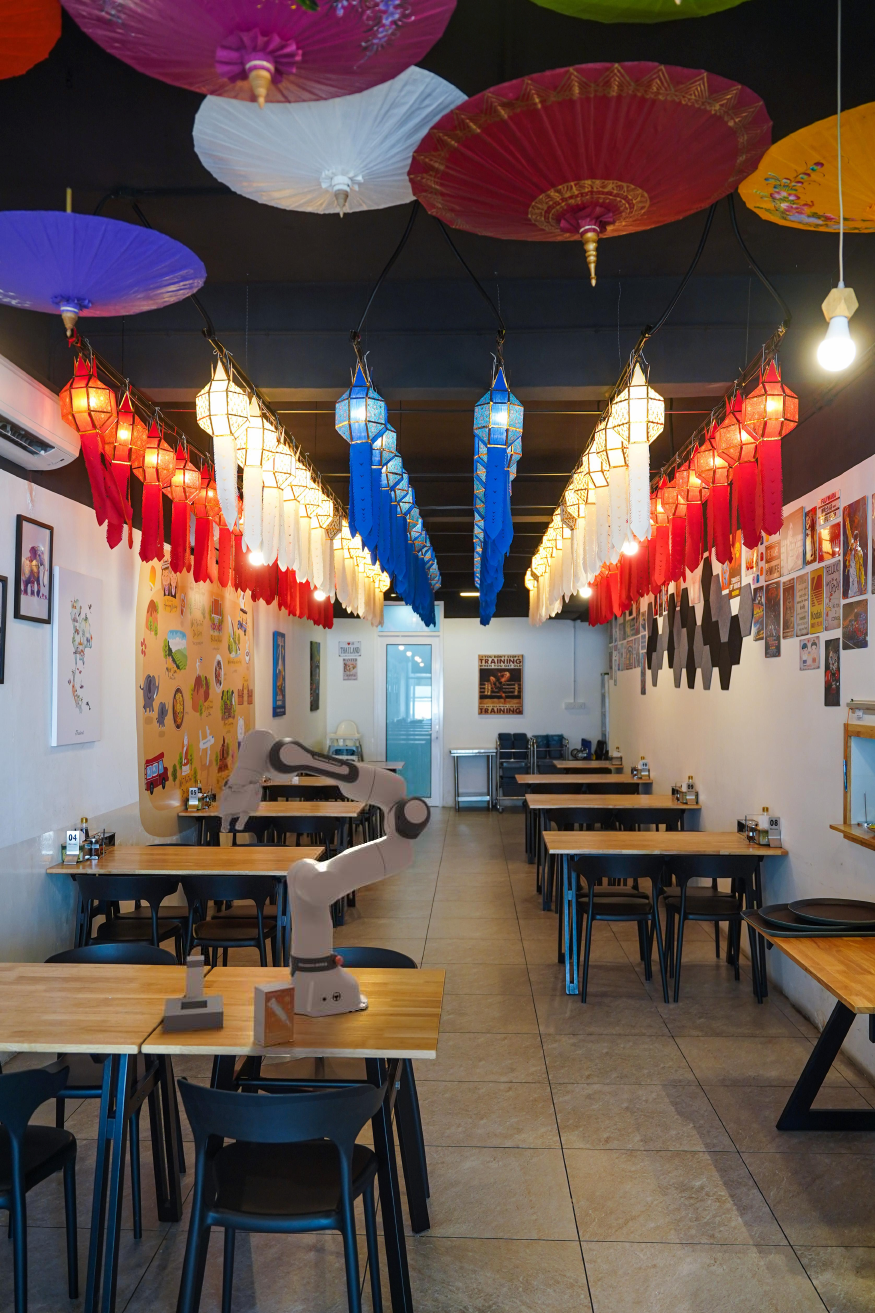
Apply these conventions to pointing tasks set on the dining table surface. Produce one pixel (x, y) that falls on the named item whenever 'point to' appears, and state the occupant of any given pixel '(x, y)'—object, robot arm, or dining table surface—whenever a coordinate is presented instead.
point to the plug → (194, 976)
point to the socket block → (193, 1013)
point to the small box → (273, 1013)
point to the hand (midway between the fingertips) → (231, 830)
